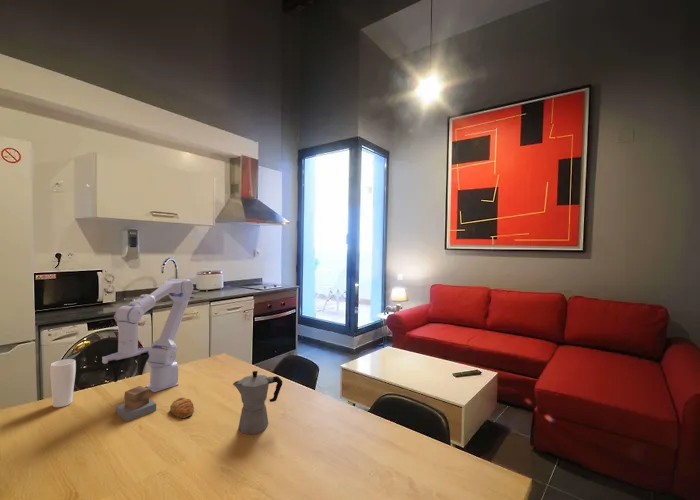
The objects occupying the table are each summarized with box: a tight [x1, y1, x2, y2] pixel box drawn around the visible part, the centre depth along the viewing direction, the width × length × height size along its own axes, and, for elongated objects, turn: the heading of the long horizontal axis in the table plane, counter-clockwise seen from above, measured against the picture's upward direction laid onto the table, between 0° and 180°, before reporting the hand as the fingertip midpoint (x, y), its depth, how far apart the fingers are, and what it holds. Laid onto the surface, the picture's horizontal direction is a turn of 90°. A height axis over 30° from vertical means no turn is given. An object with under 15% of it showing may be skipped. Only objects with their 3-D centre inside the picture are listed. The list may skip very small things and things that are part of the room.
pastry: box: [169, 397, 195, 419], centre depth 110 cm, size 9×7×4 cm
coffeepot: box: [232, 370, 283, 435], centre depth 103 cm, size 15×9×18 cm, turn 107°
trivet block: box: [115, 398, 157, 423], centre depth 109 cm, size 9×9×3 cm
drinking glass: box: [49, 358, 77, 408], centre depth 112 cm, size 7×7×15 cm
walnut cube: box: [124, 385, 150, 410], centre depth 109 cm, size 5×5×5 cm
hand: (127, 377), depth 113 cm, fingers open, 7 cm apart
